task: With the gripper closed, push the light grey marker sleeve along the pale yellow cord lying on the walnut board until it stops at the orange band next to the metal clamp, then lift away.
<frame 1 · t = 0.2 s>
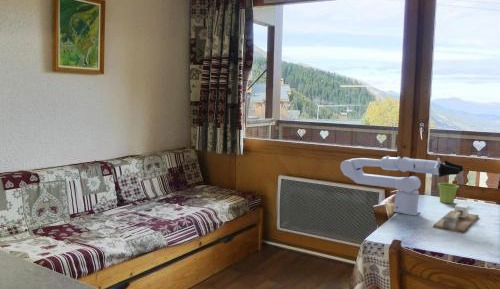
hand: (461, 170, 190), 21 cm above the table, tool horizontal, fingers open, 7 cm apart
sleeve: (461, 210, 196), point 3 cm above the table, slide at 0.0 cm
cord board: (456, 222, 191), on the table
plant pot: (446, 202, 226), on the table
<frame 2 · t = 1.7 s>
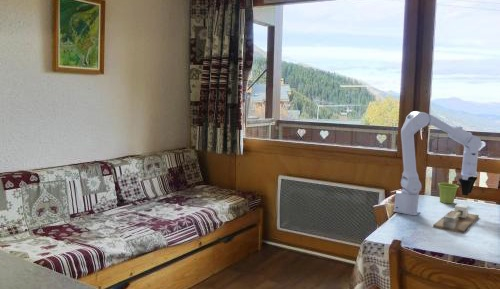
hand: (466, 193, 202), 9 cm above the table, tool pointing down, fingers open, 6 cm apart
nothing on the table moved.
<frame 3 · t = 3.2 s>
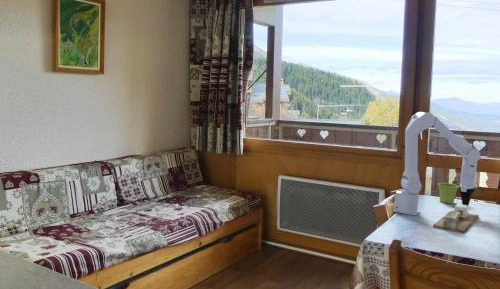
hand: (465, 205, 202), 4 cm above the table, tool pointing down, fingers closed
nothing on the table moved.
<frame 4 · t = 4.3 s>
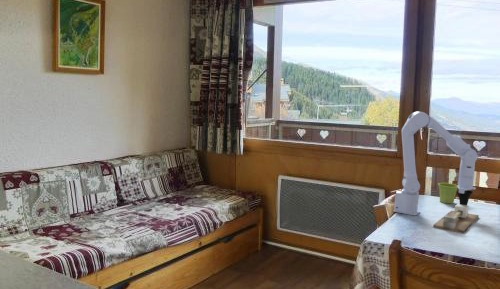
hand: (463, 207, 199), 4 cm above the table, tool pointing down, fingers closed
sleeve: (461, 210, 196), point 3 cm above the table, slide at 0.1 cm, touching gripper
everything else where it was.
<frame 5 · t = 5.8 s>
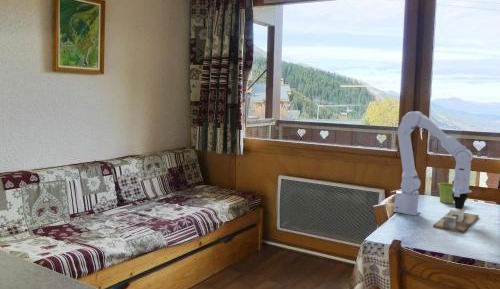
hand: (458, 211, 191), 4 cm above the table, tool pointing down, fingers closed
sleeve: (456, 214, 189), point 3 cm above the table, slide at 8.8 cm, touching gripper
everything else where it was.
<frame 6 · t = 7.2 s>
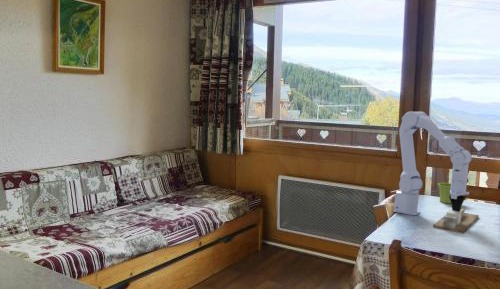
hand: (455, 213, 187), 4 cm above the table, tool pointing down, fingers closed
sleeve: (453, 217, 185), point 3 cm above the table, slide at 13.9 cm, touching gripper
everything else where it was.
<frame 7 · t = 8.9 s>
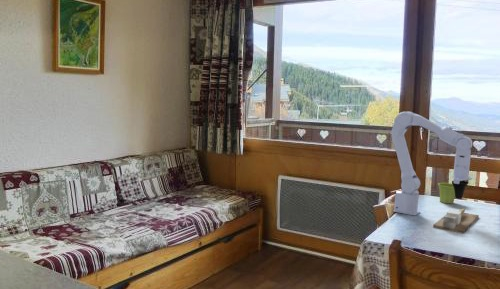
hand: (458, 198, 192), 9 cm above the table, tool pointing down, fingers closed
sleeve: (453, 217, 185), point 3 cm above the table, slide at 14.0 cm
everything else where it was.
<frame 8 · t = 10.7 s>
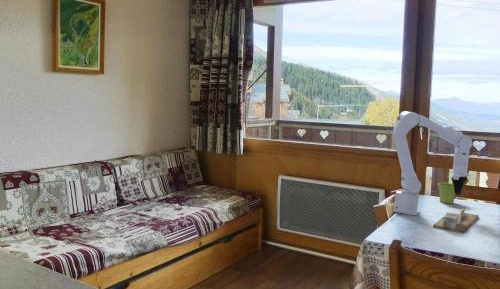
hand: (457, 193, 201), 9 cm above the table, tool pointing down, fingers closed
nothing on the table moved.
at the end: sleeve slide at 14.0 cm; plant pot moved 0.2 cm from its start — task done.
